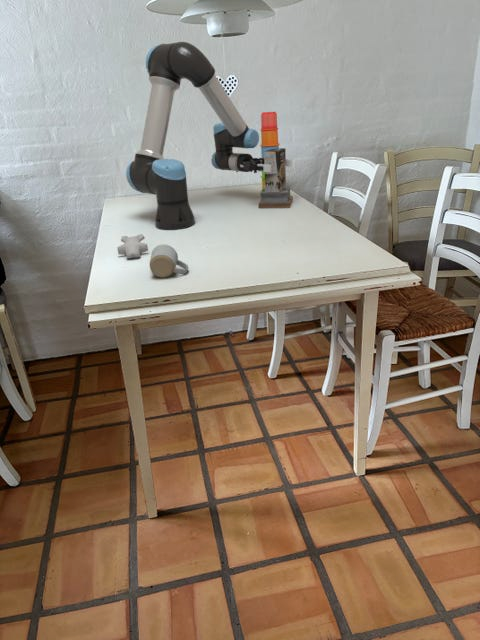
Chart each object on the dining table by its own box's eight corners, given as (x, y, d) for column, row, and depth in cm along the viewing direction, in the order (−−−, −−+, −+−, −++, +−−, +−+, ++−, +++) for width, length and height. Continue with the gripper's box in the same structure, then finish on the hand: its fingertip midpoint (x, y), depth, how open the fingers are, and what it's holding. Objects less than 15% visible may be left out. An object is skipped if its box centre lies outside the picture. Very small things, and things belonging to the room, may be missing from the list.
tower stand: (289, 208, 196) (289, 193, 193) (258, 208, 198) (257, 193, 195) (292, 200, 207) (292, 186, 204) (263, 200, 209) (262, 186, 207)
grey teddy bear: (116, 250, 147) (117, 231, 159) (119, 265, 150) (119, 245, 162) (147, 246, 148) (145, 228, 160) (149, 261, 151) (147, 242, 163)
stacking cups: (257, 193, 222) (254, 113, 206) (265, 189, 230) (263, 111, 215) (278, 194, 218) (277, 112, 203) (285, 189, 227) (284, 110, 211)
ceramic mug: (150, 280, 134) (146, 254, 130) (153, 269, 141) (150, 244, 137) (188, 277, 134) (185, 251, 131) (189, 267, 141) (186, 242, 138)
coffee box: (279, 192, 195) (278, 151, 188) (264, 192, 198) (263, 151, 190) (286, 187, 202) (286, 147, 195) (272, 187, 205) (271, 147, 197)
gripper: (260, 166, 216) (298, 170, 203) (222, 176, 200) (261, 181, 187) (259, 149, 213) (298, 151, 200) (221, 157, 196) (261, 161, 184)
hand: (281, 165), depth 193 cm, fingers open, 13 cm apart
